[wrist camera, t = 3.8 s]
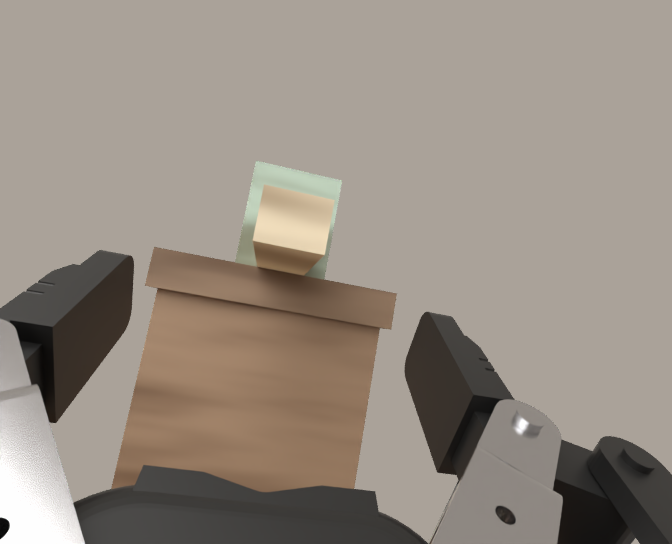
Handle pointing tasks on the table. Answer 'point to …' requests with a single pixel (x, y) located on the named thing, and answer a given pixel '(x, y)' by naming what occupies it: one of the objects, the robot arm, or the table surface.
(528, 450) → the robot arm
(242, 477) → the tool tower
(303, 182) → the mint and tan block
